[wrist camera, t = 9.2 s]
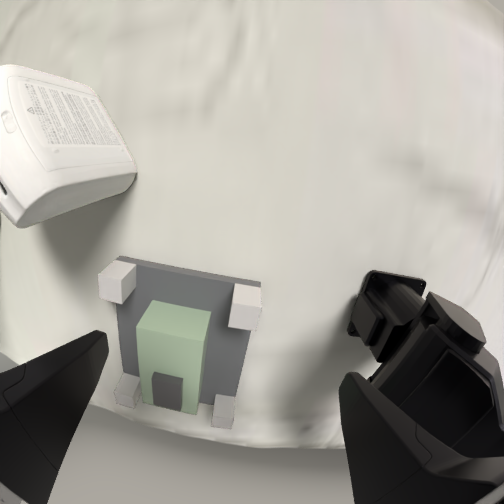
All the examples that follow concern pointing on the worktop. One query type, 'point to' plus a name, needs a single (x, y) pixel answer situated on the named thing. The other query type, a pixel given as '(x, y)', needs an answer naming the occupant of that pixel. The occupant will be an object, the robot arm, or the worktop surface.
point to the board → (172, 355)
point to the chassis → (193, 296)
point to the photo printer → (55, 147)
